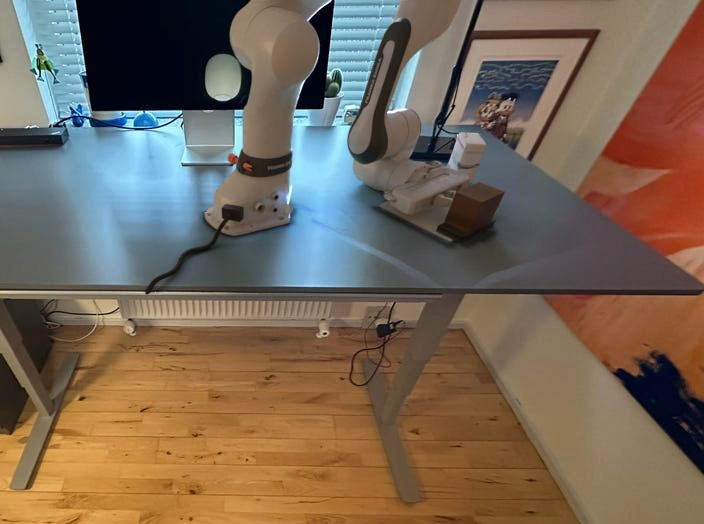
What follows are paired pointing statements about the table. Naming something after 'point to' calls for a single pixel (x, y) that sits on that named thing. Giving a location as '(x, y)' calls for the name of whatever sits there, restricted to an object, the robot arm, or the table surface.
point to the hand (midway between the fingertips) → (460, 204)
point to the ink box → (467, 154)
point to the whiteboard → (422, 217)
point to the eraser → (471, 212)
